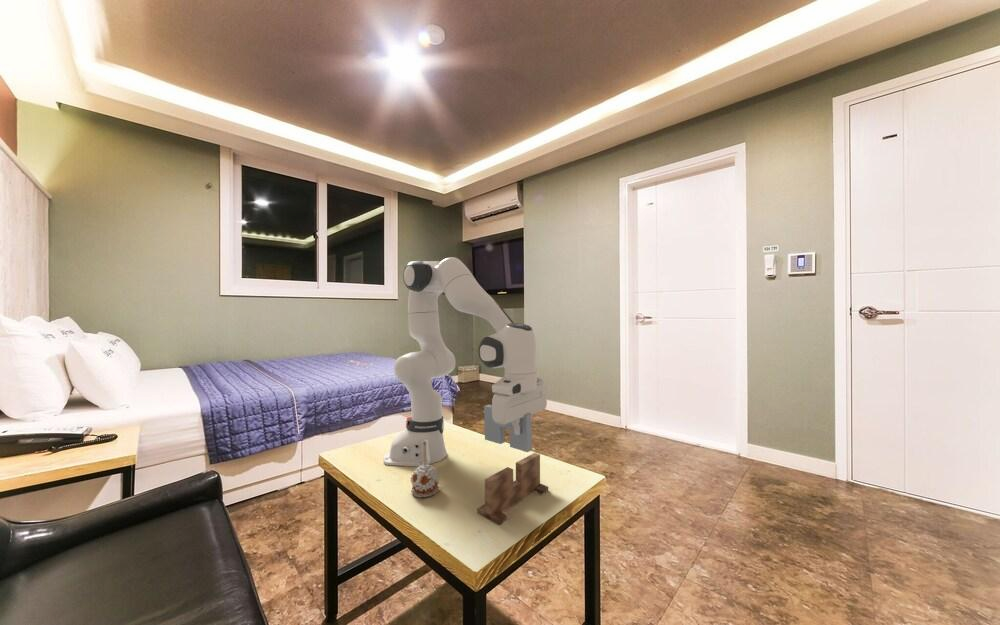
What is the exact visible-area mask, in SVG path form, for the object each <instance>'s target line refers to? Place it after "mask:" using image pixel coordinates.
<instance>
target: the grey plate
mask: <svg viewBox="0 0 1000 625" xmlns="http://www.w3.org/2000/svg"><path fill="white" fill-rule="evenodd" d="M483 413H484V414H483V415H484V416H483V418H484V424H483V425H484V440H485V441H488V442H491V443H495V444H498V445H502V444H505V443H506V438H505V437H506V436H505V435H506V434H505V433H506V431H505V430H506V429H508V430H509V447H510V448H512V449H515V450H518V451H522V452H524V453H525V452H526V453H530V452H531V451H533V433H532V432H533V430H532V420H531V413H528V414H525V416H524V417H523V418H520V422H519V425H520V427H522V434H520V435H516V434H514V427H513V426H512V424H511V422H510V423H508V424H505V425H502V424H497V423H495V422H494V420H493V418H492V404H487V405H486V404H485V405H483Z"/></svg>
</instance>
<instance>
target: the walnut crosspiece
mask: <svg viewBox="0 0 1000 625" xmlns="http://www.w3.org/2000/svg"><path fill="white" fill-rule="evenodd" d="M534 492H536V493H538V494H540V495H545V493H547V492H549V486H548V485H545V484H543V483H541V454H540V453H537V452H533V453H532V454H530V455H527V456H526V457H524V458H522V459H520V460H518V461H516V462H515V479H514V469H513V468H511V467H508V466H507V467H505V468H503V469H501V470H499V471H498V472H495V473H493V474H492V475H489V476H488V477H486V478H485V479H484V503H483V504H482V505H480V506H479V507H477V508H476V513H477V514H478V515H480V516H482V517H485V519H488V520H489V521H492V522H494V523H495V524H498V525H499V526H500V525H501V524H503V523H504V522H505V521H507V520H508V514H507V513H504V512H505V511H506V510H508V509H509V508H511V507H513V506H514V505H516V504H517V503H518V502H520V501H522V500H523V499H525V498H526V497H528V496H529V495H530V494H532V493H534Z"/></svg>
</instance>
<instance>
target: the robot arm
mask: <svg viewBox="0 0 1000 625" xmlns="http://www.w3.org/2000/svg"><path fill="white" fill-rule="evenodd" d="M402 277H403V283H404V285H405V286H406V288H407V289H408V290H409V291H408V297H407V298H408V300H407V314H408V315H407V316H408V318H407V319H408V320H407V321H408V333H409V335H410V337H411V338H413V339H414V340H416V341H417V343H418V345H419V347H420V350H419V351H413V352H408V353H405V354H403V355H401V356H399V357H398V358H397V359H396V361H395V363H394V366H393V371H394V372H393V373H394V375H395V377H396V379H397V380H398V381H399V382H400V383H402V384H403V385H404V387H405V388H406V389H407V391H408V393H409V398H410V404H411V405H410V407H411V410H410V411H411V415H409V416H407V418H406V421H405V427H406V428H405V429H404V430H403V431H401V432H400V433H399V434H398V435H396V436H395V437H394V438H393V440H392V442H391V445H390V448H389V449H388V451H386V453H385V454H384V456H383V461H384V462H383V464H384V463H385V464H386V466H402V467H404V466H405V467H419V466H420V465H423V464H424V445H423V442H426V464H427V465H431V464H434V463H436V462H440V461H442V460H443V459H445V458H446V457H447V455H448V452H447V449H446V444H445V440H444V438H445V437H444V430H445V428H444V427H445V424H444V422H445V420H444V416H443V398H442V394H441V393H439V392H438V391H437V390H435V389H434V388H433V384H432V380H435V379H440V378H443V377H445V376H447V375H449V374H450V373H452V372H453V371H454V370H455V368H456V357H455V355H454V353H453V352H452V351H450V349H449V348H448V347H447V346H446V344H445V342H444V339H443V337H442V333H441V328H440V327H441V325H440V314H439V304H438V301H439V297H440V295H441V294H442V295H443V296H445V297H446V299H447V301H448V302H449V304H450V305H451V306H452V307H453V308H454V310H457V311H458V312H461V313H464V314H469V315H474V316H476V317H480V318H482V319H485V320H486V321H487V322H488V323H489V324H490V325H491V326H492V327H493V328H494V330H495V333H494V334H493V333H492V334H490V335H488V336H485V337H483V338H482V339H481V340H480V343H479V344H478V349H477V351H478V352H477V354H478V358H479V360H480V362H481V364H482V365H483V366H484V367H486V368H489V369H498V368H504V375H503V376H502V377H501V378H500V379H498V380H497V381H496V382H494V383H493V384H492V385H491V392H492V393H493V397H492V399H491V405H492V418H493V420H494V422H495V423H497V424H502V425H505V424H508V423H510V422H511V424H512V426H513V427H514V434H516V435H520V434H522V427H520V425H519V422H520V418H523V417H524V416H525V414H528V413H531V421H532V419H533V414H536V413H538V412H540V411H543V410H546V408H547V404H548V400H547V399H548V398H547V392H546V387H545V385H544V381H543V379H542V378H541V377H538V376H537V375H538V374H537V367H536V358H537V344H536V335H535V333H534V329H533V328H532V327H531V326H530V325H529V324H526V323H525V324H524V323H517V322H514V321H513V320H512V318H511V317H510V316H509V315H508V314H507V312H506V311H505V309H503V307H502V306H501V305H500V303H498V301H497V300H496V299H494V298H493V297H492V296H491V295H490V294H489V293H487V291H486V290H484V288H483V287H482V286H481V285H480V284H479V282H478V281H477V280H476V278H475V276H474V275H473V273H472V272H471V270H469V268H468V267H467V266H466V264H464V263H463V261H462V260H461V259H459V258H458V257H455V256H453V257H452V256H450V257H447V258H446V257H445V258H444V259H442V260H441V261H439V260H434V261H431V260H430V261H429V260H428V261H427V260H414V261H410V262H408V263H407V264H406V266H405V267H404V270H403V273H402ZM385 464H384V465H385Z"/></svg>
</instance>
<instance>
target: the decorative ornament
mask: <svg viewBox="0 0 1000 625" xmlns="http://www.w3.org/2000/svg"><path fill="white" fill-rule="evenodd" d="M423 445H424V464H423V465H420V466H417V467H416V469H414V470H413V472H412V474H411V477H410V483H411V484H412V485H411V487H412V488H411V491H410V492H411V494H412V495H413V496H414V497H417V498H427V497H430V496H431V497H432V496H433V495H437V493H438V492H439V490H440V487H439V483H440V482H439V480H440V478H439V476H440V475H439V474H440V473H439V472H438V469H437V468H436V467H434V466H433V465H431V464H429V465H427V464H426V442H423Z"/></svg>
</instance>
